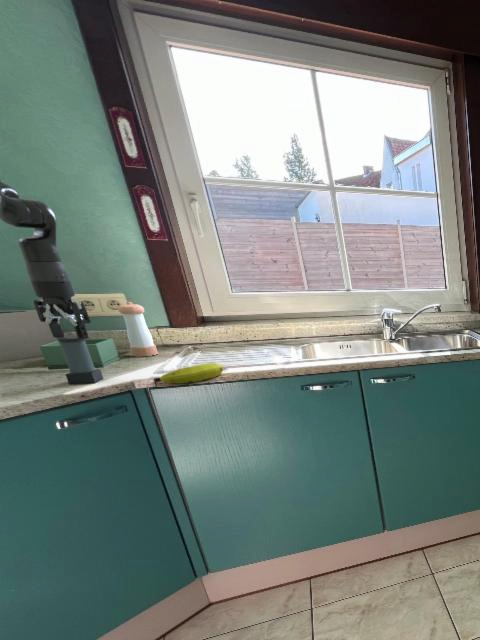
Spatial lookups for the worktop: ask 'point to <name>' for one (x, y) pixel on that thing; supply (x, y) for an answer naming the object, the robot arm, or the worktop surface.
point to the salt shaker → (137, 330)
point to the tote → (97, 349)
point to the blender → (79, 361)
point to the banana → (192, 373)
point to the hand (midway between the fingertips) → (71, 338)
